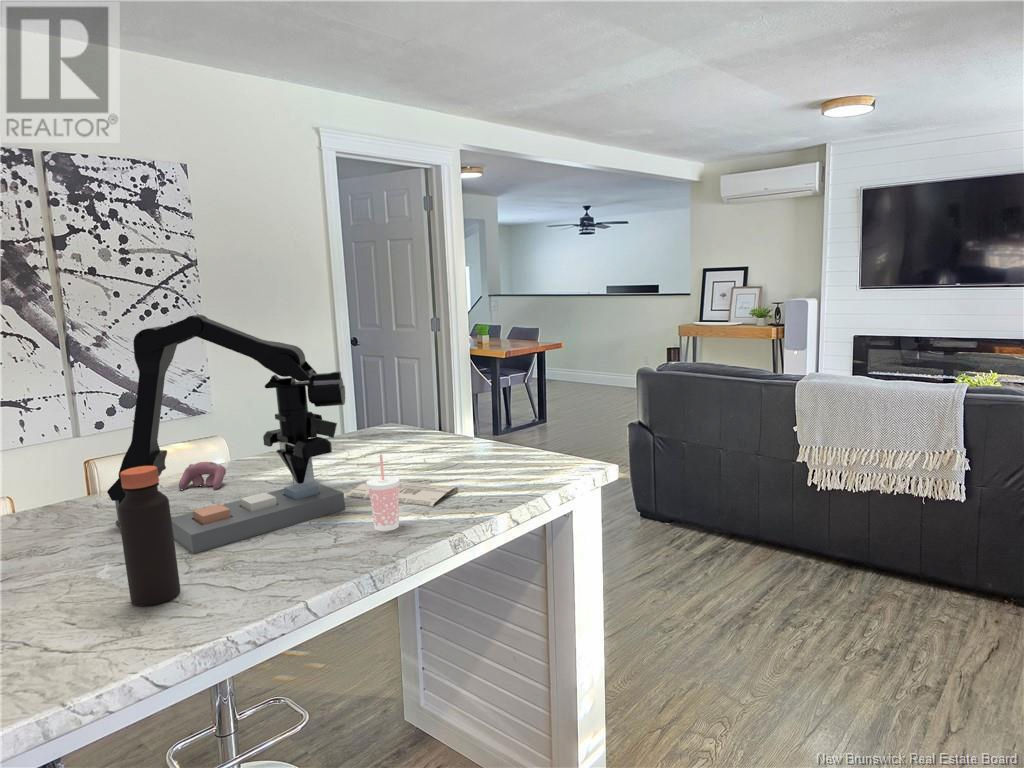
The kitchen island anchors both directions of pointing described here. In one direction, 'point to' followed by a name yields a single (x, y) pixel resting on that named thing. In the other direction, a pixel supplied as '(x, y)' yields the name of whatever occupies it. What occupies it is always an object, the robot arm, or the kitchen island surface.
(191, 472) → the video game controller
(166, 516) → the bottle
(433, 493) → the newspaper
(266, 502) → the offwhite key
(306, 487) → the slate blue key
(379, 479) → the beverage cup
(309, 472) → the medicine box
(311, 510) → the key panel
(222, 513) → the terracotta key
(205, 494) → the kitchen island surface
